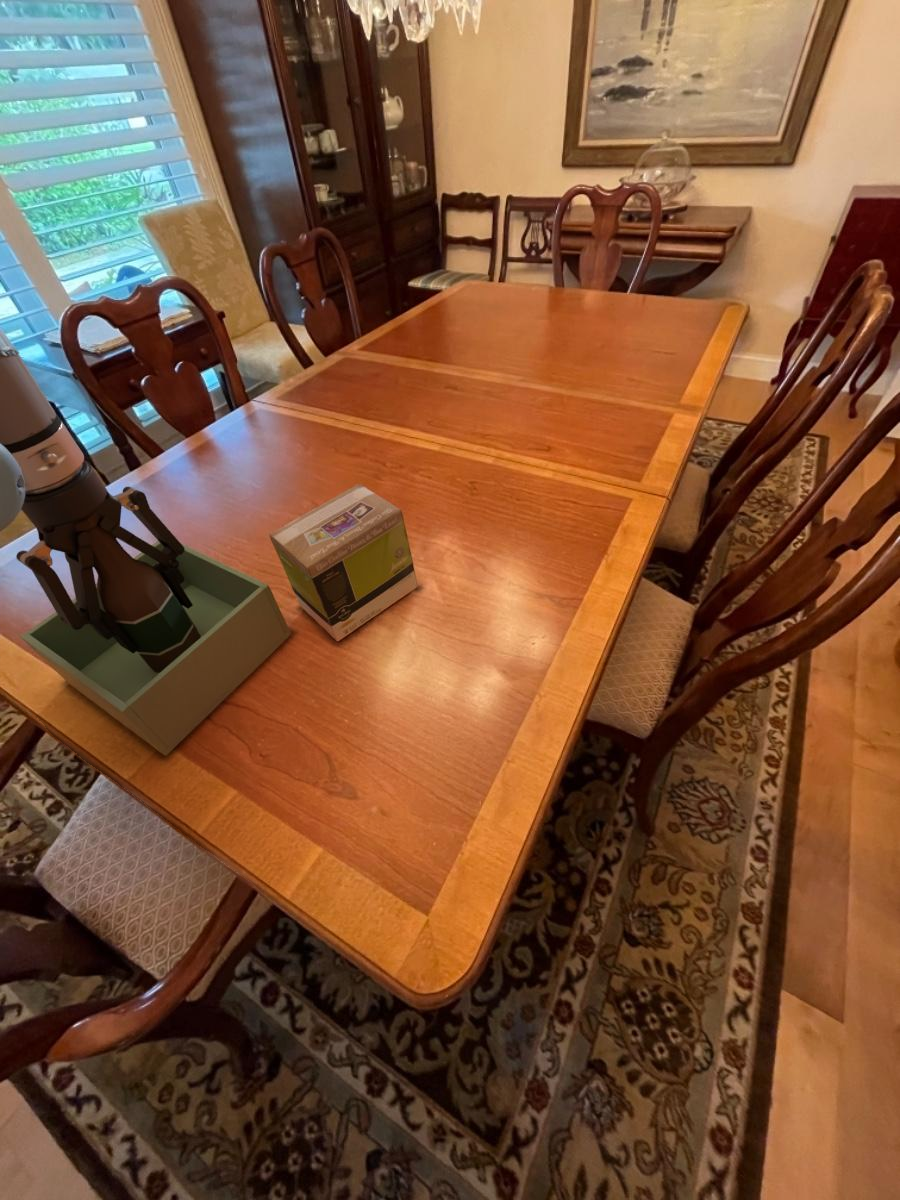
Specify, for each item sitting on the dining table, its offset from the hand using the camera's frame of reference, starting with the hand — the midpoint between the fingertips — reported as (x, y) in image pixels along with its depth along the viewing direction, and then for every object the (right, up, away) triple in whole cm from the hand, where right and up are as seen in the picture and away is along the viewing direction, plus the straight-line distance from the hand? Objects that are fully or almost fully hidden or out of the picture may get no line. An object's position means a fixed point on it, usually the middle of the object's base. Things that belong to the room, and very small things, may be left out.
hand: (157, 624), depth 69 cm
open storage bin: (+1, -5, +5) cm, 7 cm away
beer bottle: (+1, -4, +5) cm, 6 cm away
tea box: (+24, +3, +11) cm, 27 cm away
